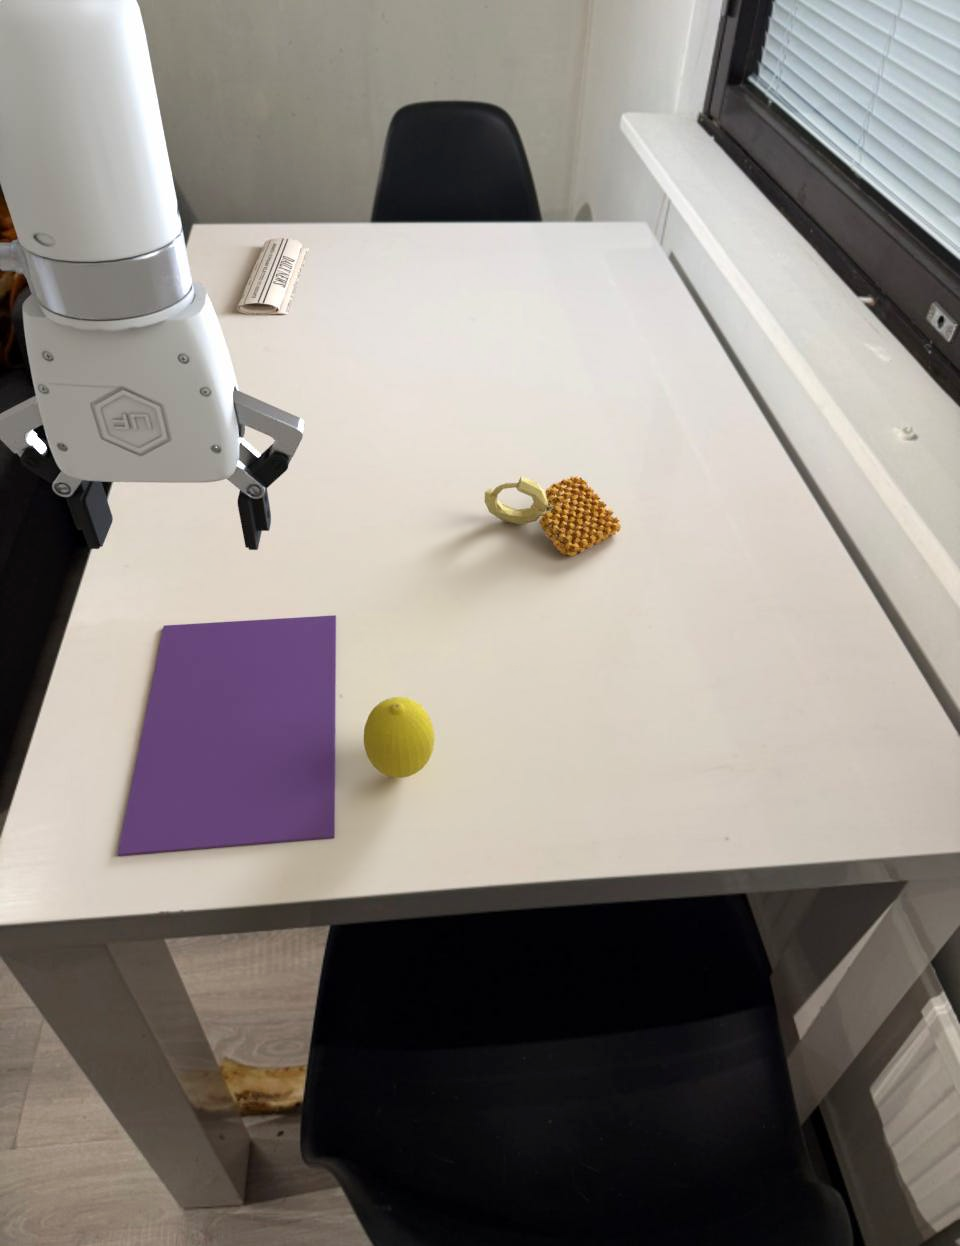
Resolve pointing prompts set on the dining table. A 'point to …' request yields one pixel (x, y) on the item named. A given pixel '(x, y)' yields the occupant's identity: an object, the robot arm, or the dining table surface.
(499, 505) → the ornament
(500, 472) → the dining table surface
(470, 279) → the dining table surface
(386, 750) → the lemon
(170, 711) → the cloth
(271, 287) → the newspaper
